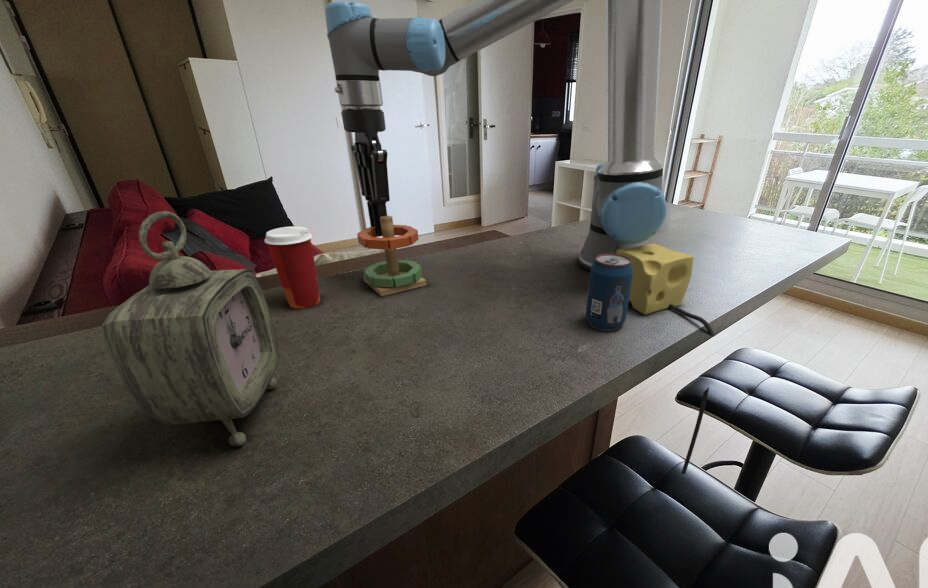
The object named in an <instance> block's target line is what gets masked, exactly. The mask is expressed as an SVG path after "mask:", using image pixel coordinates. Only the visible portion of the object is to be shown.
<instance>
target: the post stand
mask: <svg viewBox="0 0 928 588" xmlns="http://www.w3.org/2000/svg"><path fill="white" fill-rule="evenodd" d="M380 222H381V229H382V236H381V237H382V238H391V237H396V235H395V234H394V226H393V225H394V221H393V216H392V215H387V216H382V217H380ZM397 249H398V248H396V249H387V250H384V256H385V261H386V264H387V272H382V273H380V274H378V275H386V276H395V275H400V274H404V273H408V272H409V271H404V270H399V265H398V260H399V257H398V251H397ZM363 281H364V282H365V284H367V285H368V286H369V287H370V288H371V289H372V290H373V291H374V292H375V293H377V294H378V295H379V296H380V297H384V296H389V295H392V294H397V293H401V292H404V291H410V290H413V289H417V288H421V287H425V286H427V279H425V278H423V277H422V276H421V277H420V278H419V279H418V280H417V281H416V282H414V283H411V284H407V285H403V286H399V287H395V286H393V287H378V286H374V285H371V284H370V283H369V282H367V281H366V280H365V275H363Z"/></svg>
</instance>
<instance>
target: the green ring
mask: <svg viewBox="0 0 928 588" xmlns="http://www.w3.org/2000/svg"><path fill="white" fill-rule="evenodd" d="M398 265H399V270H404V271H409V272H408V273H404V274H400V275H395V276H386V275H378V274H380V273H382V272H387V264H386V260H384V261H379V262H375V263H371V265H369V266H368V267H366V269H364V270H363V276H365V280H366V281H367V282H369V283H370V284H371V285H374V286H378V287H393V286H395V287H399V286H403V285H407V284H411V283H414V282H416V281H417V280H418V279H419V278H420V277H422V276H423V268H422V265H421V264H420V263H417V262H416V261H415V260H413V261H412V260H408V259H398Z"/></svg>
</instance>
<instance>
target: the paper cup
mask: <svg viewBox="0 0 928 588" xmlns="http://www.w3.org/2000/svg"><path fill="white" fill-rule="evenodd" d="M312 238H313V235H312V234H311V233H310V230H309V228H307V227H305V226H300V225H299V226H298V225H297V226H295V225H293V226H282V227H277V228H273V229H270V230H268V231H266V233H265V238H264V243H265V244H267V247H268V249H269V252H270V254H271V258H272V261H273V264H274V267H275V270H276V273H277V276H278V278H279V282H280V284H281V286H282V290H283V292H284V296H285V298H286V301H287V303H288V306H289V307H290V308H292V309H297V310H298V309H308V308H312V307H314V306H317V305H318V304H319V303H320V302H321V295H320V288H319V281H318V275H317V269H316V268H317V267H316V263H315V256H314V250H313V244H312Z"/></svg>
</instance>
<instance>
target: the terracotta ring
mask: <svg viewBox="0 0 928 588" xmlns="http://www.w3.org/2000/svg"><path fill="white" fill-rule="evenodd" d="M393 226H394V234H395V237H391V238H383V237H381V236H376V232H375V226H374V227H371V226H369V227H366V228H364V229H362V230H361V231H359V232H357V234H356V236H357V242H358V244H359V245H361V246H362V247H363V248H365V249H368V250H369V249H370V250H384V251H385V250H387V249H401V248H408V247H410V246H413V245H414V244H415V243H417V242H418V241H419V231H418V229H416V228H415V227H412V226H411V225H406V224H393Z"/></svg>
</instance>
